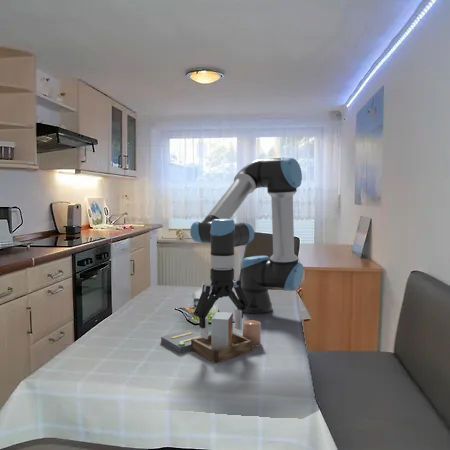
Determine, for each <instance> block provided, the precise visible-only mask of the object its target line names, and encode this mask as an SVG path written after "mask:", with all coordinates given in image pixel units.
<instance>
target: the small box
mask: <svg viewBox="0 0 450 450" xmlns="http://www.w3.org/2000/svg"><path fill="white" fill-rule="evenodd" d="M233 313H234V312H229V311H228V312H227V311H225V312H224V311H216V313H215V314H214V315H213V316H212V317H211V321H210V322H211V325H210V327H211V329H210V330H211V331H210V332H211V333H210V334H211V348H213V349H215V350H218V349H221V348H224V347H228V346H231V345H232V343H233V341H232V337H233V332H234V331H233V330H234V329H233V325H234V322H233V321H234V319H233V318H234V317H233V316H234V315H233Z"/></svg>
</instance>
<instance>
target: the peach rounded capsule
mask: <svg viewBox="0 0 450 450" xmlns="http://www.w3.org/2000/svg"><path fill="white" fill-rule="evenodd" d="M261 325H262V323H261V322H260V321H259V320H255V319H254V320H253V319H250V320H244V321H242V336H243V337H246V338H248V339H250V340H253V347H259V346H260V345H261V332H262V331H261V328H262V326H261Z"/></svg>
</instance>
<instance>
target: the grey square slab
mask: <svg viewBox="0 0 450 450" xmlns="http://www.w3.org/2000/svg"><path fill="white" fill-rule="evenodd" d="M198 337H201V333H199V332H197V331H195V330H193V329H188V330H186V329H185V330H183V331H179V332H175V333H171V334H167V335H162V336H161V337H160V340H161V341H160V342H161V344H163V345H165V346H166V347H168V348H170V349H172V350H173V351H175V352H177V353H178V354H183V353H186V352H191V351H192V344H191V339H194V338H198Z"/></svg>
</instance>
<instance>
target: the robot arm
mask: <svg viewBox="0 0 450 450" xmlns="http://www.w3.org/2000/svg"><path fill="white" fill-rule="evenodd" d="M302 175H303V172H302V168H301V165H300V163H299V162H298V161H297V159H295V158H294V157H277V158H276V157H275V158H273V157H272V158H259V159H255V160H252V161H251V162H250V163H248V164H246V165H245V166H244V167H242V168H241V169H240V170H239V171H238V172H237V173H236V175H235V176H234V178H233V182H232V183H231V185H230V186H229V187H228V189H227V190H226V192H225V193H224V194H223V195H222V196H221V198H220V199H219V200H218V201H217V202H216V204H215V206H214V207H212V209H211V210H210V212H209V213H208V214H207V216H206V217H205V218H204V219H203V220H199V221H198V220H197V221H194V222H192V224H191V226H190V231H189V233H190V234H189V235H190V237H191V239H192V240H193V241H194V242H196V243H201V244H210V267H211V268H210V281H211V282H210V284H209V285H207V284H203V285H202V290H201V293H200V297H199V298H198V301H197V305H196V307H195V310H194V312H193V316H194V317H197V318H198V319H199V323H198V324H199V325H198V326H199V328H200V329H201V330H200V334H201V337H203V338H205V339H208V335H209V317H207V316H208V314H209V313H210V311H211V310H212V309H213V306H214V305H215V303H216V302H217V301H218V300H219V299H222V298H224V297H226V298H227V297H228V298H229V299H230V301H231V302H232V303H233V304H234V306H235V307H236V308H234V329H237V330H239V331H241V330H242V331H243V317H244V313H245V314H253V315H255V314H257V315H258V314H261V315H262V314H266V313H267V314H268V313H270V312H272V310H273V303H272V302H271V298H270V293H269V289H275V290H276V289H277V290H282V291H291V292H294V291H296V290H297V289H298V288H300V286H301V284H302V282H303V278H304V273H305V271H304V269H305V267H304V265H303V263H301V262H299V257H298V255H296V254H295V236H294V235H295V232H294V231H295V230H294V229H295V225H294V224H295V223H294V195H295V194H297V188H299V187H301V185H302V180H303V176H302ZM259 188H260V189H261V188H267V194H269V196H270V197H271V221H272V222H271V223H272V224H271V225H272V226H271V227H272V228H271V229H272V254H271V256H270V257H269V256H268V255H253V256H248V257H245V258H243V259H242V261H241V268H240V269H241V270H240V271H241V275H240V276H241V278H240V279H241V280H238V279H235V268H234V267H235V247H240V246H246V245H248V244H250V243H252V241H253V240H254V237H255V229H254V228H253V226H252V225H251V224H250V223H247V222H239V223H236V222H235V220H234V219H233V216H234V215H235V213H236V212H237V210H238V209H239V208H240V206H241V205H242V204H243V203H244V201H245V200H246V198H248V196H249V194H252V193H253V192H254V191H255V190H256V189H259ZM233 288H234V290H233ZM235 293H236V294H235Z"/></svg>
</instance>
